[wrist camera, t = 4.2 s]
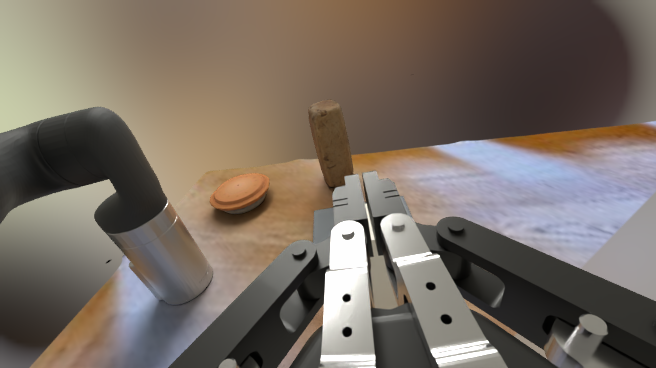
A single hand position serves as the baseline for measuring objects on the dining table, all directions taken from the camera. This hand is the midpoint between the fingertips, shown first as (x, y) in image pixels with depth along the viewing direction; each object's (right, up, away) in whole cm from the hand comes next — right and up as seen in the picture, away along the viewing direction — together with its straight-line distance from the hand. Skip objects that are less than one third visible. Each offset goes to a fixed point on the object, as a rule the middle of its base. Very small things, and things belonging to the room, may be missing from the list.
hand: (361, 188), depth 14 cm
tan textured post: (+1, +2, +58) cm, 59 cm away
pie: (-24, -4, +58) cm, 63 cm away
